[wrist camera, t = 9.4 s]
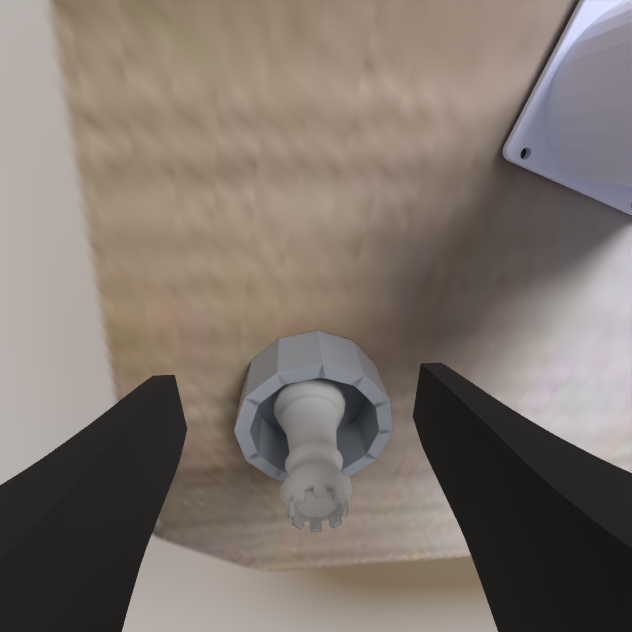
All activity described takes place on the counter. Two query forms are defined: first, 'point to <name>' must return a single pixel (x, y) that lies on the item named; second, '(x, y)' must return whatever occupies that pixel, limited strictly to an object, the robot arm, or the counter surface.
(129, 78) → the counter surface
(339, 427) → the grey faceted bowl
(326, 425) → the rook chess piece
